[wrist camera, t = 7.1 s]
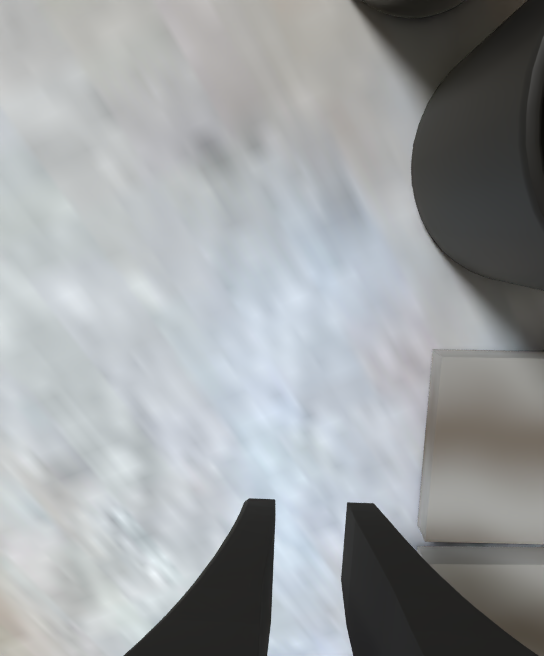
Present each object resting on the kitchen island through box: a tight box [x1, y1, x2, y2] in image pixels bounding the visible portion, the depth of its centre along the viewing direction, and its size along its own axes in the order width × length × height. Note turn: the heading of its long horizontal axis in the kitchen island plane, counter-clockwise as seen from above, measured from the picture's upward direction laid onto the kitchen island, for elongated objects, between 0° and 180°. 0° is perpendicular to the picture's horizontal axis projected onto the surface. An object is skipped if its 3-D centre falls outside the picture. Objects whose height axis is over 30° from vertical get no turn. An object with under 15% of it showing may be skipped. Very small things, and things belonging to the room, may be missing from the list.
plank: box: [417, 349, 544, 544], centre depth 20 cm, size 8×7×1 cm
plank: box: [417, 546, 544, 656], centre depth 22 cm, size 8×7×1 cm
